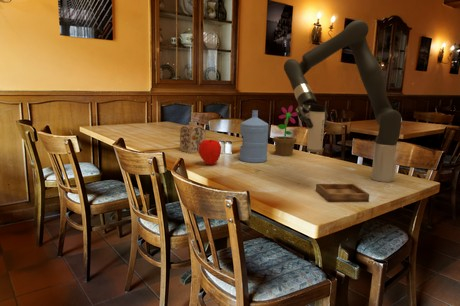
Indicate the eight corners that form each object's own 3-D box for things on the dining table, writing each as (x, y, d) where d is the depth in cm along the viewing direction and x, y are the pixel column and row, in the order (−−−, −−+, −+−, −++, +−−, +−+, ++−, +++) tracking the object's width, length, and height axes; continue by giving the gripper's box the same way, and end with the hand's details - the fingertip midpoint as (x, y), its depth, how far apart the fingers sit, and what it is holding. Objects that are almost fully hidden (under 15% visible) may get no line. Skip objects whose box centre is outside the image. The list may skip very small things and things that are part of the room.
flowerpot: (298, 154, 223) (302, 105, 217) (291, 158, 211) (295, 107, 205) (276, 151, 230) (279, 104, 224) (268, 155, 217) (271, 105, 211)
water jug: (271, 159, 204) (274, 110, 199) (258, 164, 192) (260, 112, 186) (248, 155, 213) (250, 108, 207) (233, 160, 200) (235, 110, 195)
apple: (194, 164, 186) (194, 139, 184) (206, 160, 197) (206, 136, 194) (213, 168, 181) (214, 142, 178) (224, 163, 191) (225, 139, 189)
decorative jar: (179, 150, 223) (179, 121, 219) (194, 148, 230) (194, 120, 227) (190, 153, 214) (190, 123, 210) (205, 151, 222) (206, 122, 218)
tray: (352, 190, 150) (353, 183, 150) (368, 201, 137) (369, 194, 136) (315, 190, 149) (316, 183, 148) (328, 201, 135) (329, 194, 134)
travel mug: (304, 149, 154) (307, 102, 150) (319, 149, 155) (323, 102, 150) (308, 152, 148) (311, 103, 144) (323, 152, 149) (327, 104, 144)
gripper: (294, 90, 151) (307, 122, 142) (322, 91, 156) (337, 121, 147) (287, 102, 157) (299, 133, 148) (315, 102, 162) (328, 132, 153)
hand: (318, 127), depth 148 cm, fingers closed on travel mug, 6 cm apart
